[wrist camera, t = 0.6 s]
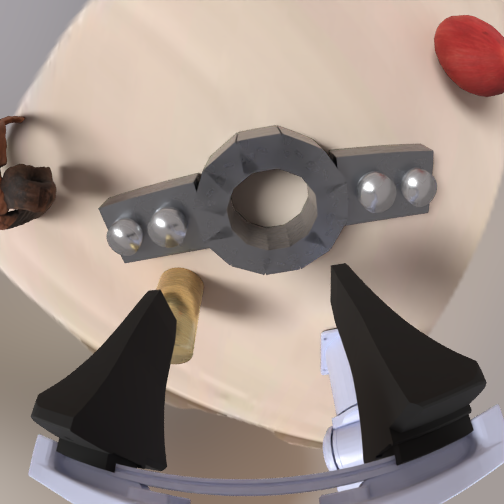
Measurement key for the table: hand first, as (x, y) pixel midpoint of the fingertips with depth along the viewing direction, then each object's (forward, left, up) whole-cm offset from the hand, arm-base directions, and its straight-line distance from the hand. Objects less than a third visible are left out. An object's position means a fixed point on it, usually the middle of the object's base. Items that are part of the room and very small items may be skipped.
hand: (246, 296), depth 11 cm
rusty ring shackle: (+8, +18, -10) cm, 22 cm away
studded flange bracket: (0, -2, -10) cm, 10 cm away
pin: (-7, +7, -10) cm, 14 cm away
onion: (+10, -17, -10) cm, 22 cm away
